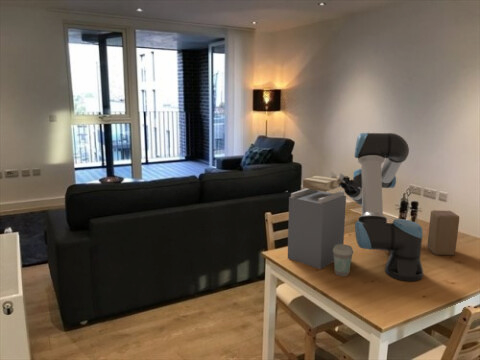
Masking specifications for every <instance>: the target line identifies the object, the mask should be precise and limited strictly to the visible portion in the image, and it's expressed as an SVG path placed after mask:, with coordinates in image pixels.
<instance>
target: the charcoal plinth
mask: <svg viewBox="0 0 480 360" xmlns="http://www.w3.org/2000/svg"><path fill="white" fill-rule="evenodd" d="M346 203H347V196H346V195H345V190H340V191H336V192H334V193H332V192H329V191H326V192H324V191H318V190H313V189H307V188H303V189H300V190H297V191H294V192H291V193H290V196H289V197H288V228H287V234H288V235H287V259H289V260H291V261H295V262H298V263H301V264H304V265H307V266H309V267H312V268H316V269H318V270H322V269H324V268H325V267H326V266H329V265H330V264H332V263H334V252H333V248H334V246H335V245H338V244H344V239H345V224H346V222H345V221H346V206H347V204H346Z"/></svg>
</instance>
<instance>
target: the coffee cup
mask: <svg viewBox="0 0 480 360" xmlns="http://www.w3.org/2000/svg"><path fill="white" fill-rule="evenodd" d="M333 252H334V262H333V265H334V266H333V267H334V274H335V275H336V276H339V277H347V276H349V274H350V270H351V269H350V268H351V264H352V258H353V254H354V250H353V247H352V246H351V245H348V244H344V243H343V244H338V245H335V246H334V248H333Z"/></svg>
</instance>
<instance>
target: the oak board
mask: <svg viewBox="0 0 480 360" xmlns="http://www.w3.org/2000/svg"><path fill="white" fill-rule="evenodd" d="M343 175H344V176H345V177H346V178H347V177H349V175H345V174H343ZM339 183H342V181H341V180H340V179H339V174H337V176H335V177H330V176H324V175H314V176H309V177H307V178H303V179H302V188H303V189H313V190H318V191H322V192H329V191H333V190H335V189H339V188H340V187H339Z"/></svg>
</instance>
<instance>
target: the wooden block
mask: <svg viewBox="0 0 480 360" xmlns="http://www.w3.org/2000/svg"><path fill="white" fill-rule="evenodd" d="M459 224H460V216H459V215H458V214H456V213H455V212H453V211H451V210H437V209H436V210H431V211H430V217H429V228H428V236H427V246H426V247H427V249H428V250H429V251H430V252H431V253H432V254H433V255H435V256H436V255H437V256H455V255H456V250H457V242H458V241H457V240H458V233H459V227H460V226H459Z"/></svg>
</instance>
